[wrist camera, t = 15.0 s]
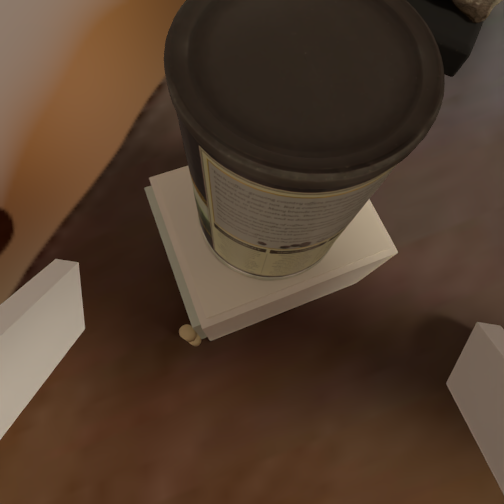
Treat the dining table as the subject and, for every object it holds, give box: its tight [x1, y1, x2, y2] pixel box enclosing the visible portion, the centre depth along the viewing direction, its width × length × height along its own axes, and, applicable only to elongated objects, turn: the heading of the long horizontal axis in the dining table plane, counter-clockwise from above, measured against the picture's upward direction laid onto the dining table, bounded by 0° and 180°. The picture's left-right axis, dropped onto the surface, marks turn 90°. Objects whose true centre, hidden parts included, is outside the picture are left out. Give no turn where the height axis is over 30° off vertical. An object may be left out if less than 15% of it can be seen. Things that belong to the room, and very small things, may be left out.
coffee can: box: [164, 0, 444, 280], centre depth 20 cm, size 10×10×14 cm
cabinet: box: [144, 166, 398, 346], centre depth 31 cm, size 12×17×10 cm
